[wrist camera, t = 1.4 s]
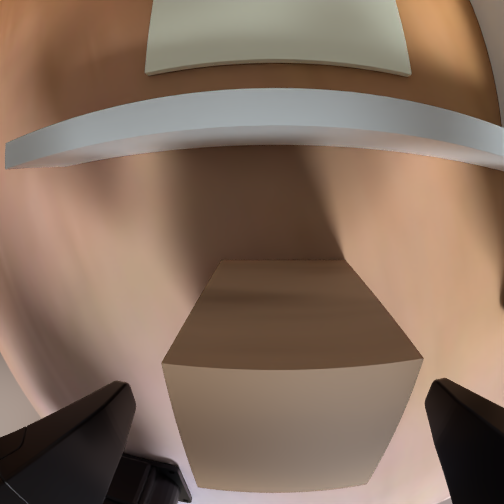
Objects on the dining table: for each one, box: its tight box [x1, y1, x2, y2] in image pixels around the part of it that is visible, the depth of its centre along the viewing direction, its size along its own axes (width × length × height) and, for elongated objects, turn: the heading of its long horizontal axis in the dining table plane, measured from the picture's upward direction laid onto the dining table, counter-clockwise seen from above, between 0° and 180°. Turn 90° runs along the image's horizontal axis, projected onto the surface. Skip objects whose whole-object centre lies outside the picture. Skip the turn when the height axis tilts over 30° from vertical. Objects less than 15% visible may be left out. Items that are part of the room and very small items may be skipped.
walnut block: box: [161, 260, 424, 493], centre depth 9 cm, size 5×5×7 cm
